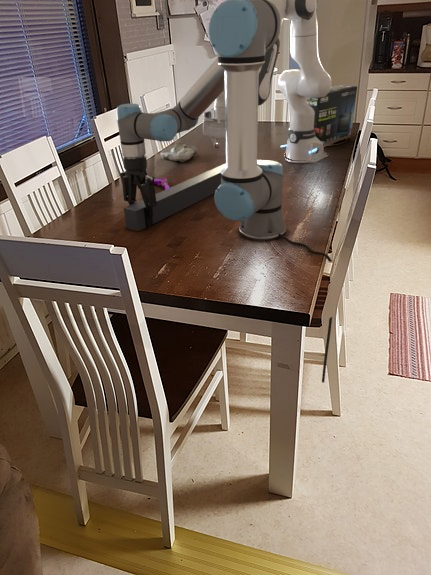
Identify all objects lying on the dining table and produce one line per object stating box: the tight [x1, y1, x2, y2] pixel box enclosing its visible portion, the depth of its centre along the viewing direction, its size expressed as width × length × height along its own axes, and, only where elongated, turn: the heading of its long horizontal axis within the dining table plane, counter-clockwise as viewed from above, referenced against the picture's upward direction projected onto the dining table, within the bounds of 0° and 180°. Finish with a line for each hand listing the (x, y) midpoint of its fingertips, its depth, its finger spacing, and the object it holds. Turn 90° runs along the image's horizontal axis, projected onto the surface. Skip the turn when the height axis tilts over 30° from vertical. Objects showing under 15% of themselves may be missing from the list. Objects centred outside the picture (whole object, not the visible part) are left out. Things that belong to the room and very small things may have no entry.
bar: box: [123, 162, 226, 232], centre depth 174 cm, size 61×6×7 cm, turn 144°
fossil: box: [160, 142, 199, 163], centre depth 229 cm, size 18×11×15 cm
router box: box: [306, 84, 358, 144], centre depth 238 cm, size 36×11×27 cm, turn 134°
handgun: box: [154, 177, 171, 190], centre depth 189 cm, size 21×8×2 cm, turn 11°
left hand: (142, 223), depth 159 cm, fingers closed on bar, 6 cm apart
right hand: (225, 149), depth 186 cm, fingers open, 8 cm apart
